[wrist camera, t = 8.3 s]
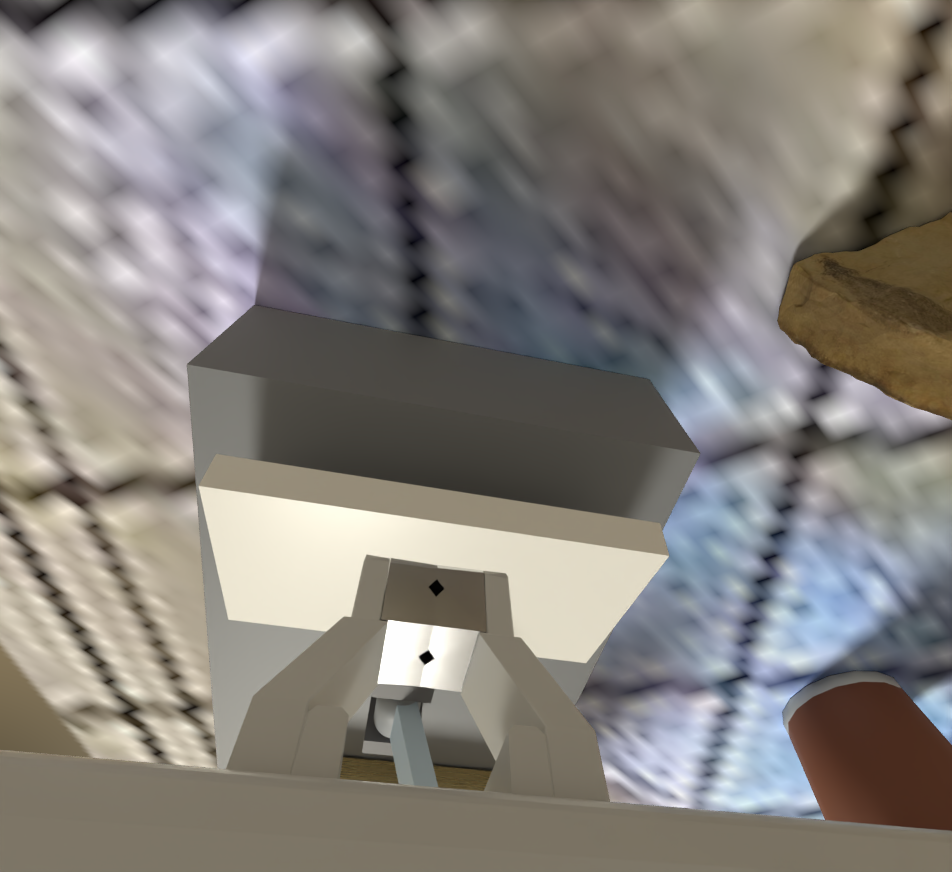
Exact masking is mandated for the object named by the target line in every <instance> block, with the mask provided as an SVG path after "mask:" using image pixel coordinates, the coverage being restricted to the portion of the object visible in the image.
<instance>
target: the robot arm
mask: <svg viewBox="0 0 952 872" xmlns="http://www.w3.org/2000/svg"><path fill="white" fill-rule="evenodd" d="M389 564H390V566H389ZM388 570H389V572H388ZM387 577H388V578H387ZM386 583H387V584H386ZM378 683H381V684H394V685H407V686H419V687H427V688H434V689H441V690H449V691H456V692H461V696H462V698H463V700H464V702H465V703H466V705H467V707H468V709H469V711H470V713H471V715H472V717H473V719H474V721H475V723H476V725H477V726H478V728H479V730H480V732H481V734H482V736H483V738H484V740H485V742H486V744H487V746H488V747H489V749H490V751H491V753H492V755H493V757H494V759H495V761H496V762H495V765H494V767H493V770H492V772H491V775H490V777H489V780H488V782H487V784H486V787H485V789H484V791H477V790H465V789H453V788H441V787H429V786H418V785H406V784H394V783H382V782H370V781H359V780H347V779H340V774H341V767H342V760H343V753H344V746H345V739H346V732H347V725H348V722H349V720H350V719H351V718H352V717H353V715H354V714H355V713H356V712H357V710H358V709H359V708H360V707H361V705H362V704H363V703H364V702H365V700H366V699H367V698H368V697H369V695H370V694H371V693H372V692H373V690H374V689H375V688H376V687H377V684H378ZM0 872H952V831H949V830H937V829H925V828H913V827H901V826H890V825H878V824H866V823H854V822H843V821H831V820H819V819H807V818H796V817H784V816H772V815H760V814H748V813H737V812H725V811H713V810H701V809H690V808H678V807H666V806H654V805H643V804H631V803H619V802H610V799H609V794H608V789H607V785H606V780H605V775H604V771H603V766H602V761H601V756H600V752H599V747H598V742H597V738H596V733H595V730H594V729H593V728H592V727H591V725H590V724H589V723H588V722H587V720H586V719H585V718H584V717H583V715H582V714H581V713H580V711H579V710H578V709H577V708H576V706H575V705H574V704H573V703H572V701H571V700H570V699H569V698H568V696H567V695H566V694H565V692H564V691H563V690H562V689H561V687H560V686H559V685H558V684H557V682H556V681H555V680H554V679H553V677H552V676H551V675H550V674H549V672H548V671H547V670H546V668H545V667H544V666H543V665H542V663H541V662H540V661H539V660H538V658H537V657H536V656H535V655H534V653H533V652H532V651H531V649H530V648H529V647H528V646H527V644H526V643H525V642H524V641H523V639H522V638H520V637H514V629H513V620H512V610H511V600H510V590H509V580H508V576H507V574H506V573H500V572H491V571H482V570H474V569H466V568H458V567H450V566H442V565H433V564H427V563H420V562H414V561H408V560H401V559H395V558H391V561H390V558H385V557H379V556H373V555H367V554H366V557H365V559H364V562H363V567H362V571H361V576H360V580H359V584H358V589H357V593H356V598H355V602H354V607H353V611H352V615H351V617H347V616H343V617H342V618H341V619H340V620H339V621H338V622H337V623H335V624H334V625H333V626H332V627H331V628H330V629H329V630H327V631H326V632H325V633H324V634H323V635H322V636H321V637H320V638H318V639H317V640H316V641H315V642H314V643H313V644H312V645H310V646H309V647H308V648H307V649H306V650H305V651H304V652H302V653H301V654H300V655H299V656H298V657H297V658H296V659H294V660H293V661H292V662H291V663H290V664H289V665H288V666H286V667H285V668H284V669H283V670H282V671H281V672H280V673H278V674H277V675H276V676H275V677H274V678H273V679H272V680H270V681H269V682H268V683H267V684H266V685H265V686H264V687H262V688H261V689H260V690H259V691H258V692H257V693H256V694H254V695H253V697H252V700H251V703H250V705H249V708H248V711H247V713H246V716H245V719H244V721H243V724H242V727H241V729H240V732H239V735H238V738H237V740H236V743H235V746H234V748H233V751H232V754H231V756H230V759H229V762H228V764H227V767H226V769H217V768H206V767H194V766H182V765H170V764H159V763H147V762H135V761H123V760H112V759H100V758H88V757H76V756H65V755H53V754H41V753H30V752H17V751H5V750H0Z"/></svg>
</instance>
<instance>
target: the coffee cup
mask: <svg viewBox="0 0 952 872" xmlns="http://www.w3.org/2000/svg"><path fill="white" fill-rule="evenodd" d="M782 715H783V725H784V727H785V729H786V730H787V732H788V734H789V736H790V739H791V741H792V743H793V746H794V748H795V750H796V753H797V755H798V757H799V760H800V762H801V764H802V767H803V769H804V771H805V774H806V776H807V778H808V781H809V783H810V785H811V788H812V790H813V792H814V795H815V797H816V799H817V802H818V804H819V806H820V809H821V811H822V813H823V816H824V818H825V820H831V821H843V822H854V823H866V824H878V825H890V826H901V827H913V828H925V829H937V830H949V831H952V745H951V744H950V743H949V742H948V740H947V739H946V738H945V737H944V736H943V735H942V734H941V732H940V731H939V730H938V729H937V728H936V727H935V726H934V724H933V723H932V722H931V721H930V720H929V719H928V718H927V717H926V715H925V714H924V713H923V712H922V711H921V710H920V709H919V707H918V706H917V705H916V704H915V703H914V702H913V701H912V699H911V698H910V697H909V696H908V695H907V694H906V693H905V692H904V690H903V689H902V688H901V687H900V685H899V684H898V683H897V681H896V680H895V679H894V678H893V677H890V676H888V675H885V674H882V673H879V672H876V671H851V672H846V673H841V674H836V675H832V676H828V677H826V678H824V679H821V680H819V681H817V682H814V683H812V684H810V685H808V686H806V687H805V688H803V689H802V690H801V691H800V692H798V693H797V694H796V695H794V696H793V697H792V698H791V699H790V700H789V702H788V703H787V705H786V707H785V708H784V710H783V712H782Z"/></svg>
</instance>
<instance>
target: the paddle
mask: <svg viewBox="0 0 952 872" xmlns="http://www.w3.org/2000/svg"><path fill="white" fill-rule="evenodd" d="M420 706H421V702H413V701H404V700H395V699H385V698H377V700H376V705H375V711H374V724H375V727H376V728H377V730H378V731H379V732H380V733H381V734H382V735H384V736H385V737H388V738H390V742H391V747H392V752H393V757H394V763H395V768H396V773H397V778H398V783H399V784H406V785H418V786H429V787H438V784H437V780H436V776H435V772H434V768H433V764H432V760H431V756H430V752H429V748H428V744H427V740H426V735H425V731H424V727H423V723H422V719H421V715H420V711H419V710H420Z"/></svg>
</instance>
